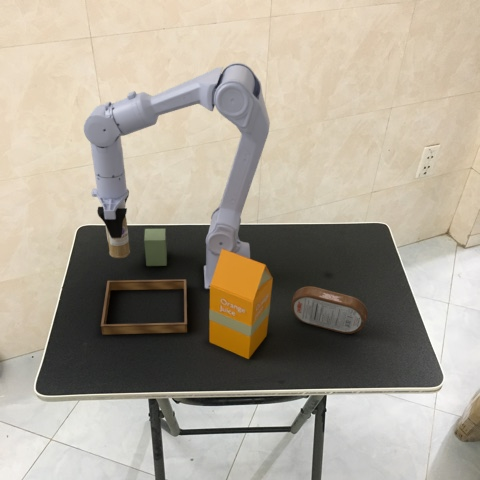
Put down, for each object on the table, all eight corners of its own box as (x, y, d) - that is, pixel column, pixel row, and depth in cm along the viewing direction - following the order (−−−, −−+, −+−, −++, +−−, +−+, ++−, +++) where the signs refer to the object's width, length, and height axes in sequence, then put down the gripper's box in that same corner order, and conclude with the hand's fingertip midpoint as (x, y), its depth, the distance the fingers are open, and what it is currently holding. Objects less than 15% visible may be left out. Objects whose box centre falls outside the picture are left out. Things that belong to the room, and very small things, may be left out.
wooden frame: (186, 287, 119) (186, 279, 117) (187, 332, 108) (187, 324, 107) (108, 289, 117) (107, 280, 116) (102, 334, 107) (100, 326, 105)
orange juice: (248, 359, 104) (255, 276, 90) (208, 342, 107) (209, 259, 93) (267, 335, 109) (276, 253, 95) (228, 319, 112) (232, 237, 98)
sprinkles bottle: (118, 262, 117) (111, 207, 108) (104, 253, 119) (96, 198, 110) (135, 252, 120) (129, 198, 111) (121, 244, 122) (114, 190, 113)
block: (166, 254, 127) (165, 228, 122) (166, 265, 124) (165, 240, 119) (147, 254, 127) (145, 228, 122) (146, 266, 123) (144, 240, 119)
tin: (363, 330, 111) (372, 298, 105) (360, 340, 109) (369, 309, 103) (291, 311, 114) (296, 280, 109) (287, 321, 112) (292, 289, 106)
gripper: (92, 153, 111) (101, 211, 120) (83, 190, 101) (94, 250, 110) (128, 153, 112) (133, 211, 121) (123, 190, 101) (129, 250, 110)
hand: (117, 230), depth 115 cm, fingers closed on sprinkles bottle, 4 cm apart
